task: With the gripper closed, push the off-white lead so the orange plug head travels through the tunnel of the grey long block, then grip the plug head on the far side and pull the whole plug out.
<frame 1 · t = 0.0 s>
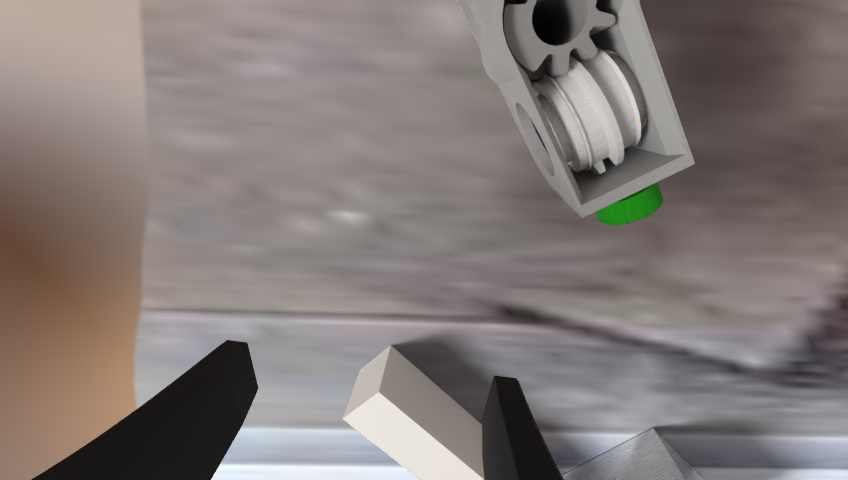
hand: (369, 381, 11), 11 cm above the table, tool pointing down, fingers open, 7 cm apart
mechanical component: (502, 64, 17), on the table
plug: (448, 420, 25), on the table
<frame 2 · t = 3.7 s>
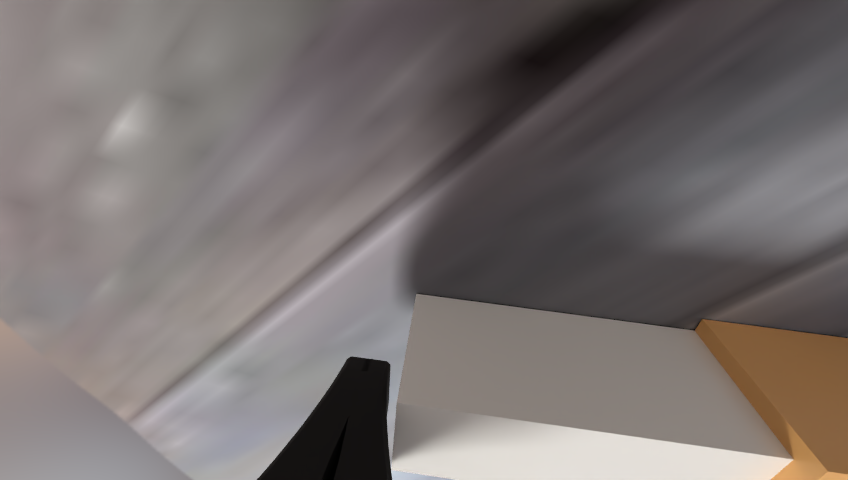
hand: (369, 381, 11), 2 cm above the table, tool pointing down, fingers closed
plug: (614, 354, 12), on the table, touching gripper
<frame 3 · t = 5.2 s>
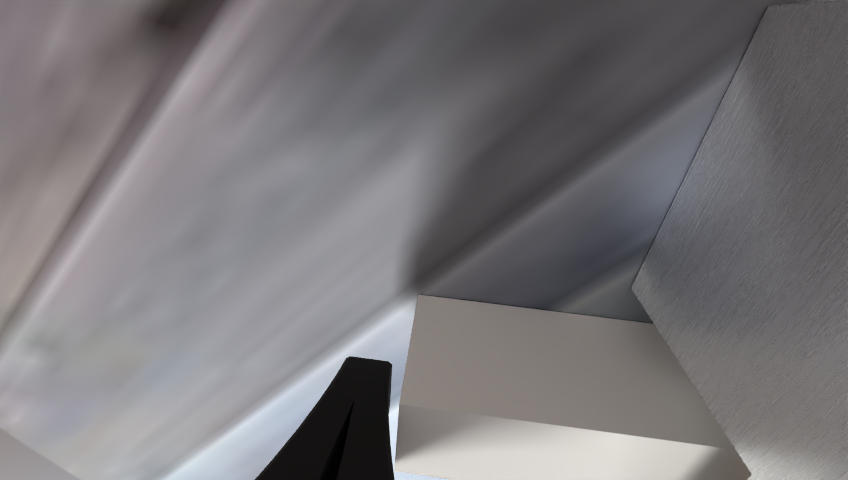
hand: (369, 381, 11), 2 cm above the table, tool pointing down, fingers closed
plug: (617, 353, 12), on the table, touching gripper
grey long block: (688, 363, 12), on the table
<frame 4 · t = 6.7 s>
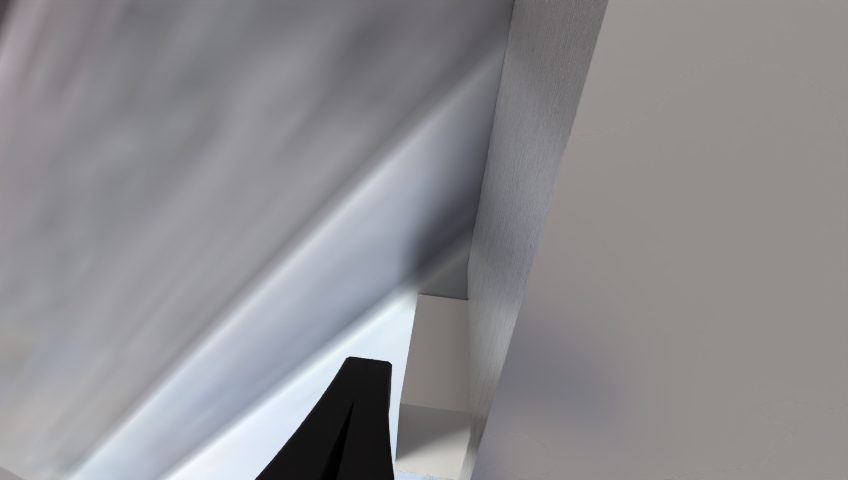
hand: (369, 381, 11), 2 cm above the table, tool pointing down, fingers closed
plug: (617, 353, 12), on the table, touching gripper
grey long block: (542, 344, 12), on the table
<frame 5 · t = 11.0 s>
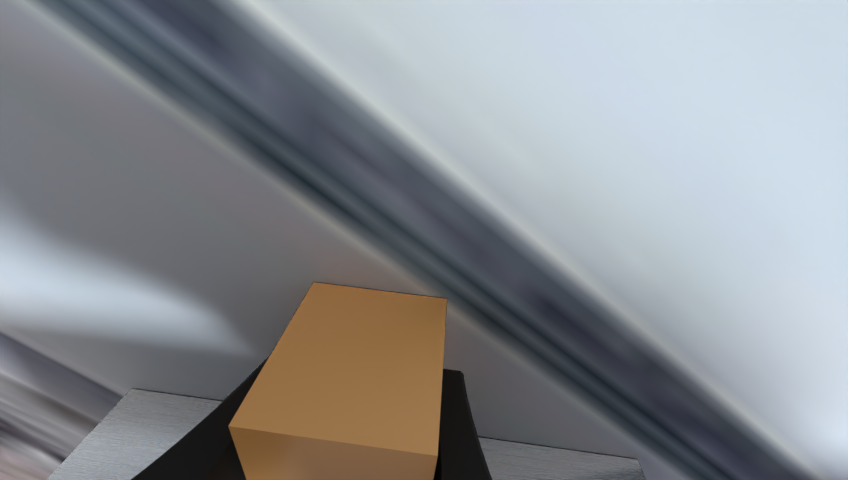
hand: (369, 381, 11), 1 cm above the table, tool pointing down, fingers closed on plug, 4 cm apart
plug: (376, 428, 14), on the table, touching gripper
grey long block: (376, 464, 15), on the table
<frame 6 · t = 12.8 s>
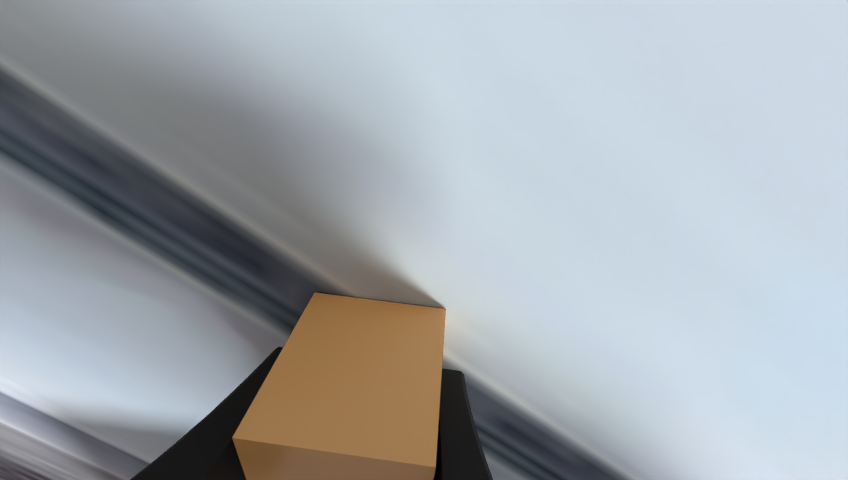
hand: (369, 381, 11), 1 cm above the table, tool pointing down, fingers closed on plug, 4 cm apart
plug: (376, 434, 14), on the table, touching gripper
when the fingers open (2 cm above the table, at t = 14.6 s): plug stays where it is, on the table.
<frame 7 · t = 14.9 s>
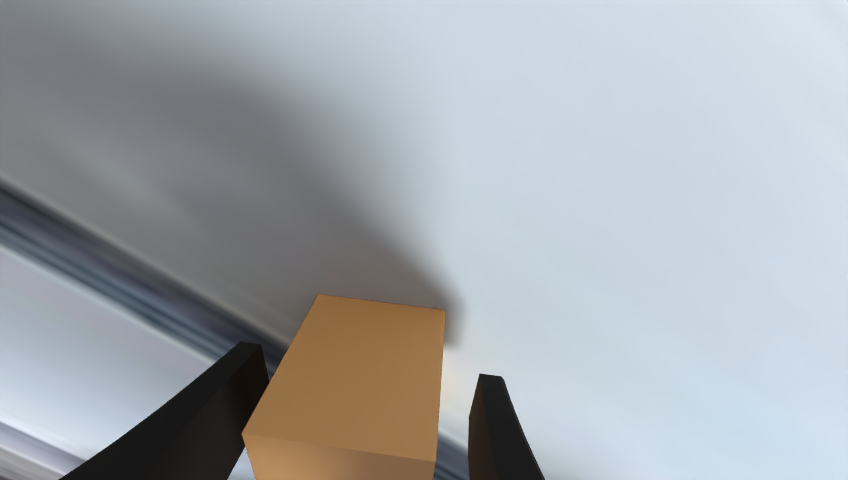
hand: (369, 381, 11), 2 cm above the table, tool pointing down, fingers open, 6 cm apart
plug: (377, 432, 15), on the table
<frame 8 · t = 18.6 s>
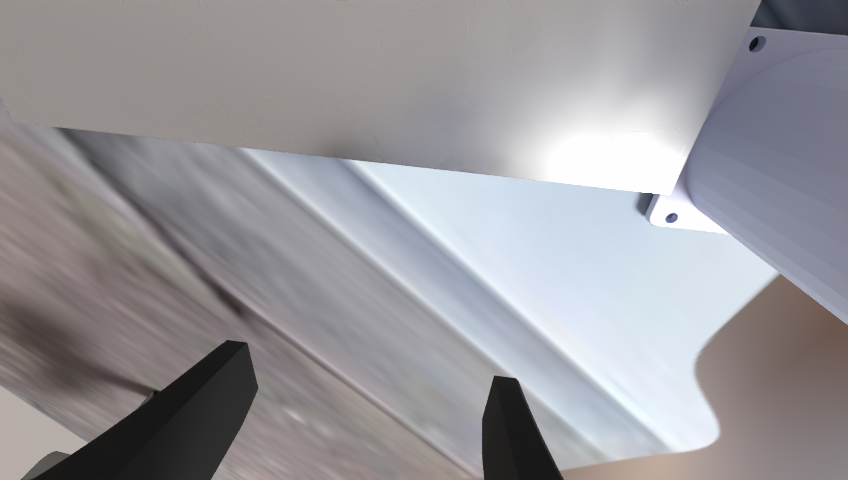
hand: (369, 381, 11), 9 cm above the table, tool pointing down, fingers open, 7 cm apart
mechanical component: (162, 395, 29), on the table
grey long block: (373, 38, 14), on the table
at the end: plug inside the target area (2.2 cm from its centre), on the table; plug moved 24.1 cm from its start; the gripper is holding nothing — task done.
